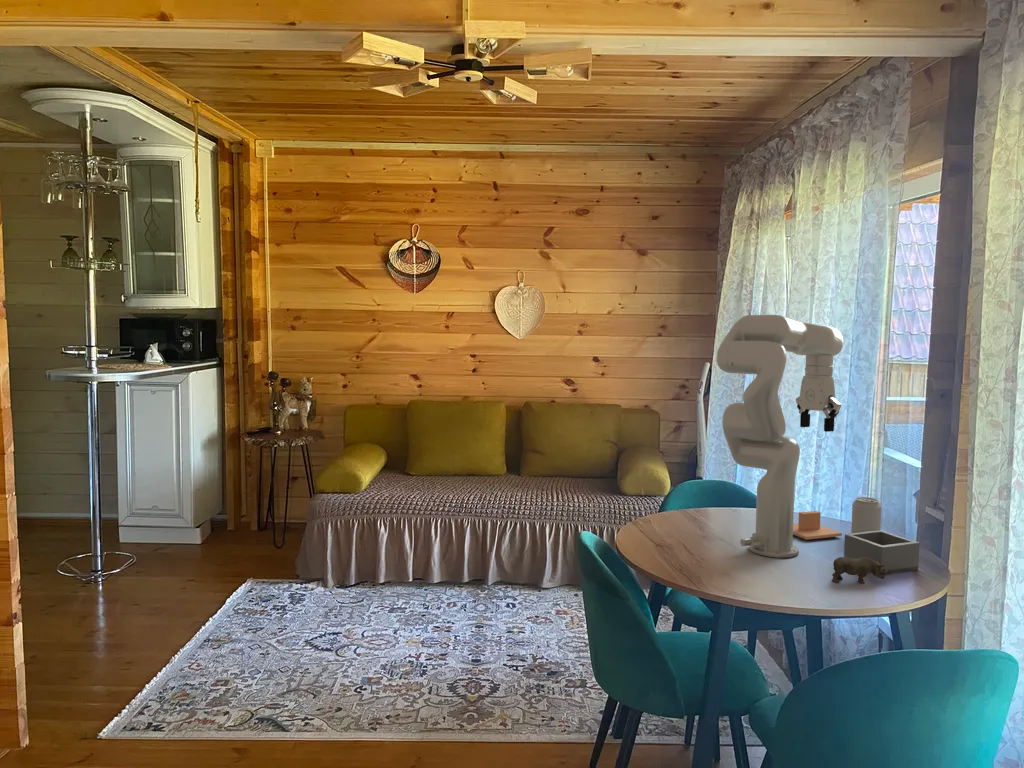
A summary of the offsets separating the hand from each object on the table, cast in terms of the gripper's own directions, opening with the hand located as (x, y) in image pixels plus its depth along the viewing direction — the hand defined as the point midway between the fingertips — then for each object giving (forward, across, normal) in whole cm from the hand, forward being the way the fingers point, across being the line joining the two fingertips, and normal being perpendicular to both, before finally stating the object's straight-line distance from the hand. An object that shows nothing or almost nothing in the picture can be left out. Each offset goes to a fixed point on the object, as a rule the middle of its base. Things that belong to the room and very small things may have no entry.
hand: (816, 429), depth 217 cm
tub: (+30, +32, -8) cm, 45 cm away
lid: (+31, +4, -5) cm, 31 cm away
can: (+31, +14, +6) cm, 34 cm away
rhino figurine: (+31, +40, -22) cm, 55 cm away
